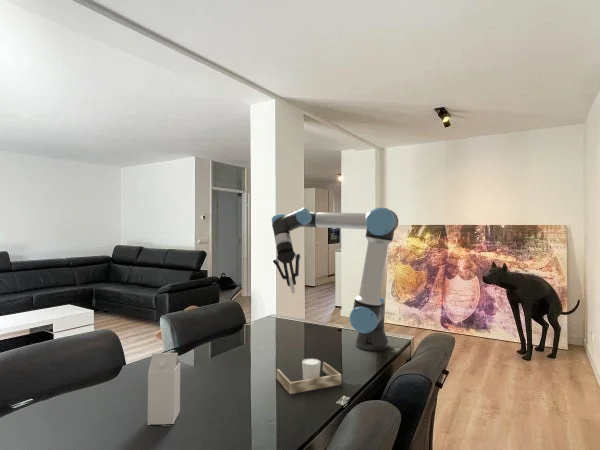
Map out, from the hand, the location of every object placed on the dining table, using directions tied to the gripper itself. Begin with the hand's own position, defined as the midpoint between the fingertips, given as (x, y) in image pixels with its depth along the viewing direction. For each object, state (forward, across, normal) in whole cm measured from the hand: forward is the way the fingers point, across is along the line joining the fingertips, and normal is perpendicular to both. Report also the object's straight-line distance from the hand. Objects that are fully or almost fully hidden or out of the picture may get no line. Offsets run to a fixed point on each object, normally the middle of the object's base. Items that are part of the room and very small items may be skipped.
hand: (293, 292), depth 159 cm
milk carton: (+42, +40, +40) cm, 71 cm away
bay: (+38, 0, +11) cm, 39 cm away
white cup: (+38, -1, +10) cm, 39 cm away
